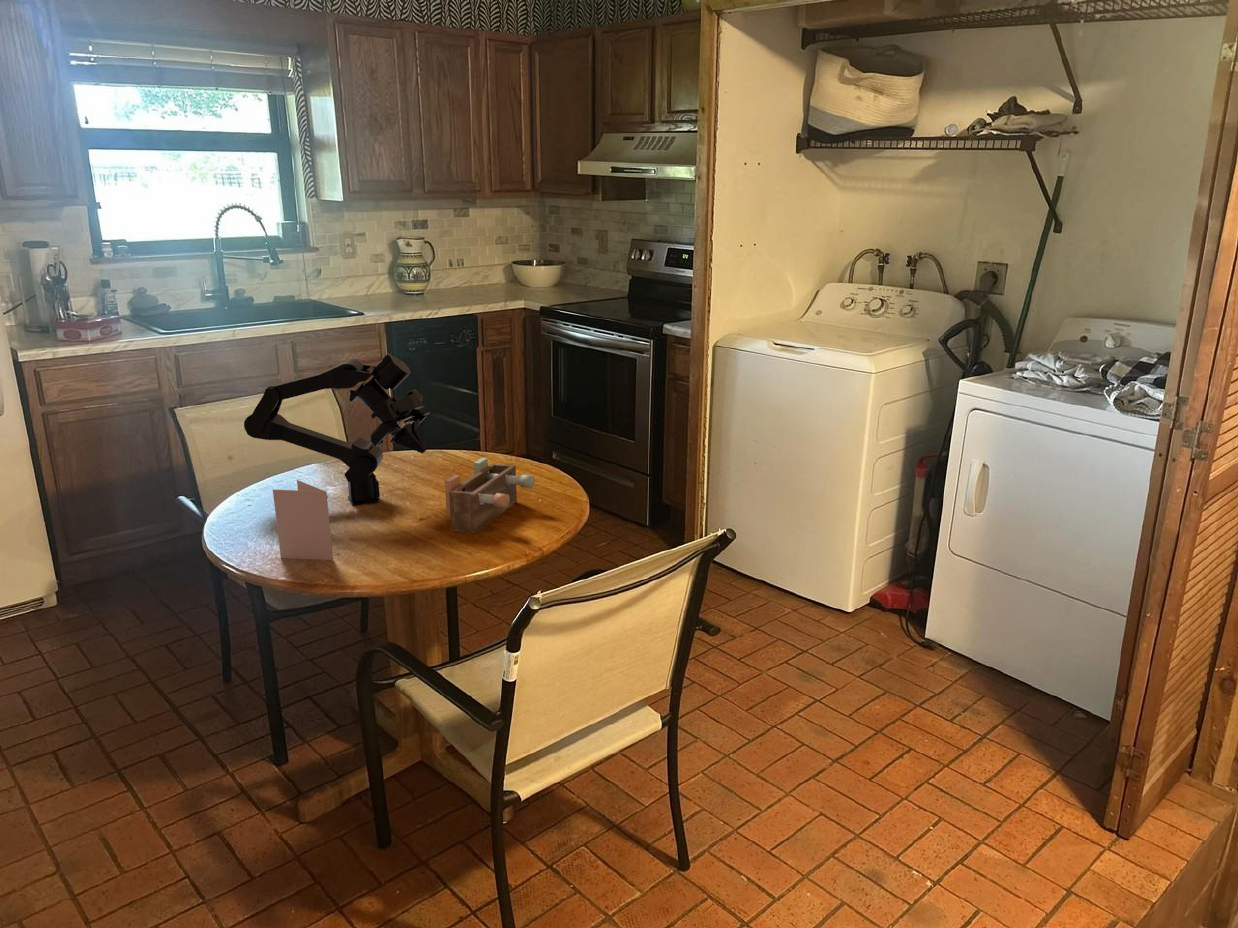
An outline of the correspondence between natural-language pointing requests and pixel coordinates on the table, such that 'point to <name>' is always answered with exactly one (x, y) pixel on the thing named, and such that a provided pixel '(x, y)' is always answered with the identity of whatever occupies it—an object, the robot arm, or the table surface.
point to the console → (466, 504)
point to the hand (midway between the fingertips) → (424, 451)
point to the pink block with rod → (496, 499)
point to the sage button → (523, 480)
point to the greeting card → (303, 523)
